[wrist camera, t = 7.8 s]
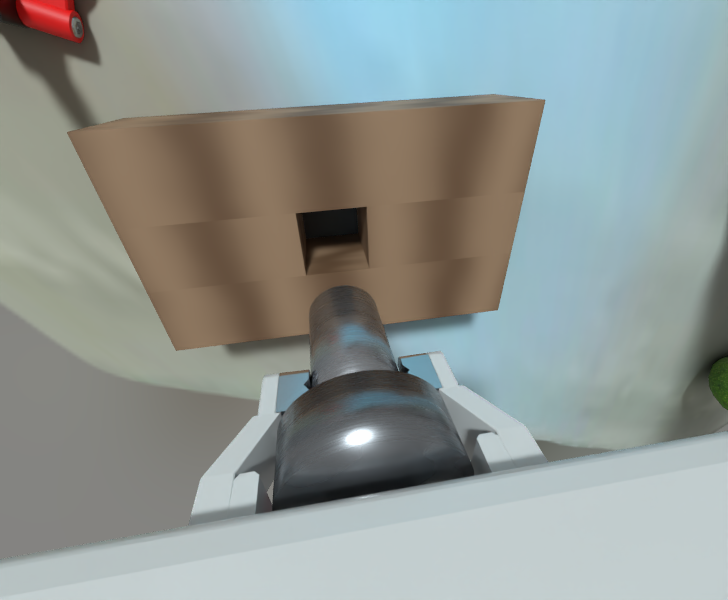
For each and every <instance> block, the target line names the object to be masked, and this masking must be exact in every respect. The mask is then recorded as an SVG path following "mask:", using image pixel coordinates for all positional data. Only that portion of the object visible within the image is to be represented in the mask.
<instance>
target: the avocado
mask: <svg viewBox="0 0 728 600" xmlns="http://www.w3.org/2000/svg"><path fill="white" fill-rule="evenodd" d="M708 378H709V386H710V389H711V391H712V393H713V395H714V396H715V398H716V399H717V400H718V401H719V403H720V404H721V405H722V406H723V407H724V408H725V409H727V410H728V356H727V357H724V358H722V359H720V360H718V361H717V362H716V363H714V364H713V365H712V368H711V371H710V374H709V377H708Z"/></svg>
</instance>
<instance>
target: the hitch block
mask: <svg viewBox="0 0 728 600" xmlns="http://www.w3.org/2000/svg"><path fill="white" fill-rule="evenodd" d="M544 104H545V100H542V99H533V98H524V97H514V96H505V95H496V94H490V95H475V96H460V97H444V98H429V99H414V100H398V101H383V102H367V103H352V104H337V105H321V106H306V107H290V108H275V109H260V110H244V111H229V112H214V113H198V114H183V115H167V116H152V117H137V118H123V119H119V120H115V121H111V122H107V123H103V124H99V125H95V126H90V127H86V128H82V129H78V130H74V131H70V132H67V134H68V136H69V138H70V140H71V142H72V144H73V146H74V148H75V150H76V152H77V154H78V156H79V158H80V160H81V162H82V164H83V166H84V168H85V170H86V172H87V174H88V176H89V178H90V180H91V182H92V184H93V186H94V188H95V190H96V192H97V194H98V196H99V198H100V200H101V202H102V204H103V206H104V208H105V210H106V212H107V214H108V216H109V218H110V220H111V222H112V224H113V226H114V228H115V230H116V232H117V234H118V236H119V238H120V240H121V242H122V244H123V246H124V248H125V250H126V252H127V254H128V256H129V258H130V260H131V262H132V264H133V266H134V268H135V270H136V272H137V274H138V276H139V278H140V280H141V282H142V284H143V286H144V288H145V290H146V292H147V294H148V296H149V298H150V300H151V302H152V304H153V306H154V308H155V310H156V312H157V314H158V316H159V318H160V320H161V322H162V324H163V326H164V328H165V330H166V332H167V334H168V336H169V338H170V340H171V342H172V344H173V346H174V348H175V350H176V351H177V350H185V349H193V348H201V347H209V346H217V345H225V344H233V343H241V342H248V341H256V340H264V339H272V338H280V337H288V336H296V335H304V334H309V310H310V307H311V304H312V303H313V301H314V300H315V298H316V297H317V296H318V295H319V294H321V293H322V292H324V291H326V290H327V289H330V288H332V287H336V286H343V285H348V286H355V287H359V288H361V289H363V290H365V291H366V292H368V293H369V294H370V295H371V296H372V297H373V299H374V301H375V303H376V306H377V309H378V312H379V315H380V318H381V321H382V324H391V323H399V322H407V321H415V320H423V319H431V318H439V317H446V316H454V315H462V314H470V313H478V312H486V311H494V310H498V307H499V303H500V298H501V294H502V289H503V285H504V280H505V276H506V272H507V267H508V263H509V258H510V254H511V250H512V245H513V241H514V236H515V232H516V228H517V223H518V219H519V214H520V210H521V206H522V201H523V197H524V192H525V188H526V184H527V179H528V175H529V170H530V166H531V161H532V157H533V153H534V148H535V144H536V139H537V135H538V131H539V126H540V122H541V117H542V113H543V109H544ZM347 208H357V224H358V233H355V234H345V235H335V236H325V237H315V238H306V234H305V228H304V221H303V215H302V213H304V212H315V211H326V210H336V209H347Z"/></svg>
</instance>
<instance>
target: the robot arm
mask: <svg viewBox="0 0 728 600" xmlns="http://www.w3.org/2000/svg"><path fill="white" fill-rule="evenodd" d="M398 367H399V370H400V372H404V373H408V374H411V375H414V376H417V377H419V378H421V379H423V380H426V381H427V382H428V383H430V384H431V385H433V386H434V387H435V388H436V389H437V390H438V392H439V393H440V395H441V396H442V398H443V400H444V402H445V405H446V407H447V409H448V411H449V414H450V416H451V418H452V420H453V423H454V425H455V427H456V430H457V432H458V434H459V436H460V439H461V441H462V443H463V446H464V448H465V450H466V452H467V455H468V457H469V459H470V460H471V464H472V466H473V469H474V476H469V477H463V478H458V479H452V480H446V481H441V482H435V483H429V484H424V485H418V486H412V487H407V488H401V489H395V490H390V491H384V492H379V493H373V494H367V495H362V496H356V497H350V498H345V499H339V500H333V501H328V502H322V503H317V504H311V505H305V506H300V507H294V508H288V509H282V510H277V511H272V504H271V502H270V499H269V497H268V494H267V491H268V489H269V487H270V485H271V483H272V482H273V480H274V473H275V457H276V442H277V430H278V425H279V422H280V420H281V418H282V416H283V414H284V413H285V411H286V410H287V408H288V407H289V406H290V405H291V404H292V403H293V402H294V401H295V400H296V399H297V398H298V397H300V396H301V395H302V394H303V393H305V392H306V391H308V390H309V389H311V374H310V370H303V371H294V372H285V373H279V374H270V375H265V376H264V378H263V381H262V388H261V395H260V403H259V410H258V416H253V417H252V418H251V420H250V421H249V422H248V423H247V424H246V425H245V427H244V428H243V429H242V430H241V431H240V433H239V434H238V435H237V436H236V437H235V439H234V440H233V441H232V442H231V443H230V445H229V446H228V447H227V448H226V449H225V451H224V452H223V453H222V454H221V455H220V456H219V458H218V459H217V460H216V461H215V462H214V464H213V465H212V466H211V467H210V468H209V469H208V471H207V472H206V473H205V474H204V475H203V477H202V478H201V479H200V483H199V487H198V491H197V495H196V498H195V502H194V506H193V510H192V514H191V517H190V521H189V525H188V526H186V527H180V528H175V529H169V530H164V531H158V532H152V533H146V534H140V535H135V536H130V537H123V538H118V539H112V540H106V541H101V542H95V543H89V544H84V545H78V546H72V547H66V548H61V549H55V550H50V551H44V552H38V553H32V554H27V555H22V556H15V557H10V558H5V559H0V600H728V431H724V432H718V433H713V434H707V435H701V436H696V437H690V438H684V439H679V440H673V441H667V442H662V443H656V444H650V445H645V446H639V447H633V448H628V449H622V450H616V451H611V452H605V453H600V454H594V455H588V456H582V457H577V458H572V459H566V460H560V461H554V462H548V461H547V460H546V458H545V456H544V455H543V453H542V452H541V450H540V448H539V447H538V445H537V444H536V442H535V440H534V439H533V437H532V436H531V434H530V432H529V431H528V429H527V428H526V426H525V425H523V424H522V423H520V422H519V421H517V420H516V419H514V418H513V417H511V416H510V415H508V414H507V413H505V412H504V411H502V410H500V409H499V408H497V407H496V406H494V405H493V404H491V403H490V402H488V401H487V400H485V399H484V398H482V397H481V396H479V395H478V394H476V393H475V392H473V391H471V390H470V389H468V388H467V387H465V386H464V385H460V386H459V384H458V382H457V380H456V378H455V376H454V374H453V372H452V370H451V368H450V366H449V364H448V362H447V360H446V358H445V356H444V354H443V353H442V352H441V351H436V352H429V353H423V354H416V355H409V356H403V357H399V358H398Z"/></svg>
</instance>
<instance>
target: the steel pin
mask: <svg viewBox="0 0 728 600" xmlns="http://www.w3.org/2000/svg"><path fill="white" fill-rule="evenodd" d="M309 337H310V366H311V389H309V390H308V391H306V392H305V393H303V394H302V395H301V396H300V397H298V398H297V399H296V400H295V401H294V402H293V403H292V404H291V405H290V406H289V407H288V408H287V410H286V411H285V413H284V414H283V416H282V418H281V420H280V422H279V425H278V430H277V442H276V457H275V473H274V488H273V504H272V511H277V510H282V509H288V508H294V507H300V506H305V505H311V504H317V503H322V502H328V501H333V500H339V499H345V498H350V497H356V496H362V495H367V494H373V493H379V492H384V491H390V490H395V489H401V488H407V487H412V486H418V485H424V484H429V483H435V482H441V481H446V480H452V479H458V478H463V477H469V476H474V469H473V466H472V464H471V461H470V459H469V457H468V455H467V452H466V450H465V448H464V446H463V443H462V441H461V439H460V436H459V434H458V432H457V430H456V427H455V425H454V423H453V420H452V418H451V416H450V414H449V411H448V409H447V407H446V405H445V402H444V400H443V398H442V396H441V395H440V393H439V392H438V390H437V389H436V388H435V387H434V386H433V385H431V384H430V383H428V382H427V381H426V380H423V379H421V378H419V377H417V376H414V375H411V374H408V373H404V372H399V371H398V369H397V366H396V363H395V360H394V357H393V354H392V351H391V348H390V345H389V342H388V339H387V336H386V333H385V330H384V327H383V324H382V321H381V318H380V315H379V312H378V309H377V306H376V303H375V301H374V299H373V297H372V296H371V295H370V294H369V293H368V292H366V291H365V290H363V289H361V288H359V287H355V286H348V285H343V286H336V287H332V288H330V289H327V290H326V291H324V292H322V293H321V294H319V295H318V296H317V297H316V298H315V300H314V301H313V303H312V304H311V307H310V310H309Z"/></svg>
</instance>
